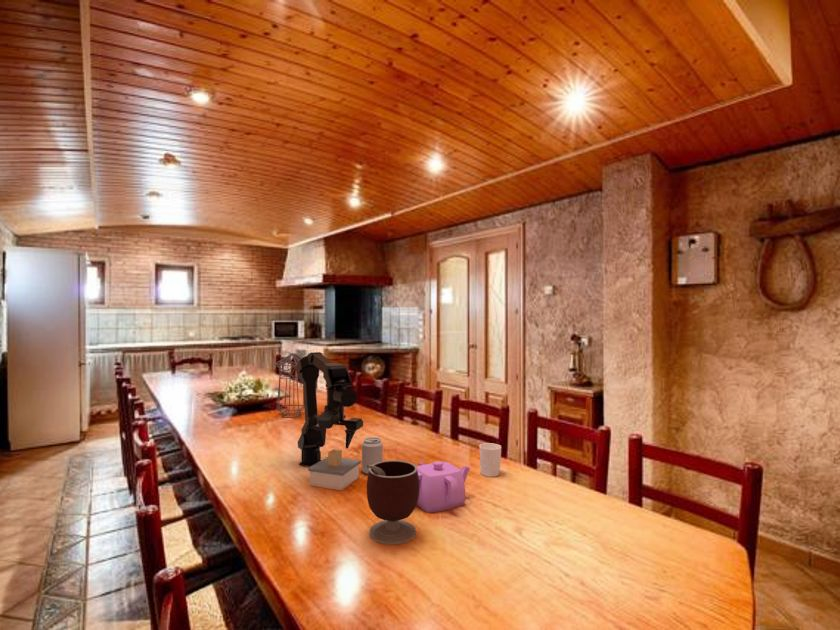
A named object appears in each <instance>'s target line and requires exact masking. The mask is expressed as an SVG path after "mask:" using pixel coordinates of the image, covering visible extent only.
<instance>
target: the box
mask: <svg viewBox="0 0 840 630" xmlns="http://www.w3.org/2000/svg"><path fill="white" fill-rule="evenodd" d="M359 466H360V464H359V465H357V466H356V467H354V468H353V469H352V470H350V471H349V472H347V473H346V474H344V475H343V476H340V475H333V474H326V473H319V472H312V471H309V485H310V486H311V487H317V488H325V489H331V490H338V491H343V490H344V489H346V488H347V487H348V486H350V485H351V484H352V483H353V482H355V481H356V480H357V479H359Z"/></svg>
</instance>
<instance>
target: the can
mask: <svg viewBox="0 0 840 630" xmlns="http://www.w3.org/2000/svg"><path fill="white" fill-rule="evenodd" d="M381 440H382V439H381V438H380V437H376V436H373V437H372V436H370V437H366V438H364V439H363V442H362V443H361V471H362V472H363V473H364V474H366V475H368V473H369V468H367V465H373V464H375V463H378V462H382V461H384V460H383V459H384V458H383V454H384V453H383V452H384V451H383V450H384V449H383V448H384V447H383V442H382V441H381Z"/></svg>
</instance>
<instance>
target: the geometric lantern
mask: <svg viewBox="0 0 840 630" xmlns="http://www.w3.org/2000/svg"><path fill="white" fill-rule="evenodd" d="M291 358H292V359H293V361H291ZM301 359H303V358H302V357H301V356H299V355H297V354H295V353H290V354H289V355H287V356H285V357H283V358H282V359H280V360H278V361H277V362H274V365H275V366H276V368H278V369H279V378H278V379H279V380H278V391H277V398H276V399H277V400H276V410H277V411H279V412H280V413H281V414H282V416H281V417H282V418H285V417H286V418H289V419H291V418H292V419H296V418H297V419H298V417H300V416H301V415H302V411H303V410H305V408H304V392H303V391H302V403H303V404H300V402H299V383H298V382H299V381H298V379H299V378H298V374H297V375H296V376H294V375H293V373H294V371H295V370H296V366H297V364H298V362H299V361H300V360H301ZM286 363H287V364H286ZM285 366H286V367H287V369H284V367H285ZM289 367H290V368H289ZM292 369H293V370H292ZM290 370H292V371H290ZM286 372H289V374H290V375H288V374H287V373H286ZM283 373H284V374H285V376H282V374H283ZM288 377H289V378H288ZM291 377H292V378H291ZM282 379H283V380H285V381H286V382H285V391H284V392H285V393H284V405H282V406H280V405H281V404H280V403H281V402H280V401H281V400H280V399H281V381H282ZM288 380H289V391H288V392H289V393H288V404H286V401H287V388H288ZM295 380H296V394H297V395H296V396H297V404H295ZM299 380H300V379H299ZM291 381H293V384H292V385H293V388H292V389H293V391H292V392H293V395H292V397H293V398H292V401H293V403H292V404H291ZM292 406H293V409H289V408H290V407H292ZM283 407H284V408H283ZM287 407H288V408H287ZM295 407H297V409H295ZM286 415H294V417H293V416H286Z"/></svg>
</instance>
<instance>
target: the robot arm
mask: <svg viewBox="0 0 840 630" xmlns="http://www.w3.org/2000/svg"><path fill="white" fill-rule="evenodd" d="M299 360H300V361H299V362H298V361H297V363H298V364H297V366H295V367H296V368H295V370H296V373H297V375H298V376H297V379H298V378H299V381H300V382H301V383H302V393H303V392H304V420H305V421H304V424H303V426H302V427H301V434H300V437H299V439H298V440H297V448H298V449H299V450H301V457H300V458H301V462H299V463H298V465H299V466H306V467H311V466H312V465H314V464H316V463H318V462H319V461H321V460H322V457H321V456H322V455H321V453H322V452H321V448H323V447H324V446H325V445H326V441H327V440H326V439H327V429H328V430H329V429H331V428H333V426H334V425H335V426H344V427H345V428H346V429H344V432H345V449H346V450H347V449H349V447H350V444H351V443H352V440H353V438H354V435H356V434H355V433H356V432H357V430H360V429H361V428H363V427H364V421H363V419H362V418H360V417H351V418H349V419H346V418H347V416H346V415H345V407H346V408H350V407H353V406H354V404H356V402H357V397H358V396H357V394H356V392H355V391H354V390H353V389H352V386H353V385H352V379H351V375H350V373H349V370H348V368H347V366H345V364H343V363H336V362H333V361H332V360H330V359H329V358H328V357H326V356H325V355H324V353H322V352H320V351H316V352H315V351H314V352H310V353H309V352H308V354H307V355H306V356H304V357H303V358H302V359H299ZM320 372H321V373H323V374H322V377H323V379H324V381H325V382H326V384H325V387H326V405H324V410H323V412H321V414H320V413H319V412H318V403H317V402H318V399H317V386H316V385H317V384H316V382H317V381H318V379H319V377H320ZM318 413H319V414H318Z"/></svg>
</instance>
